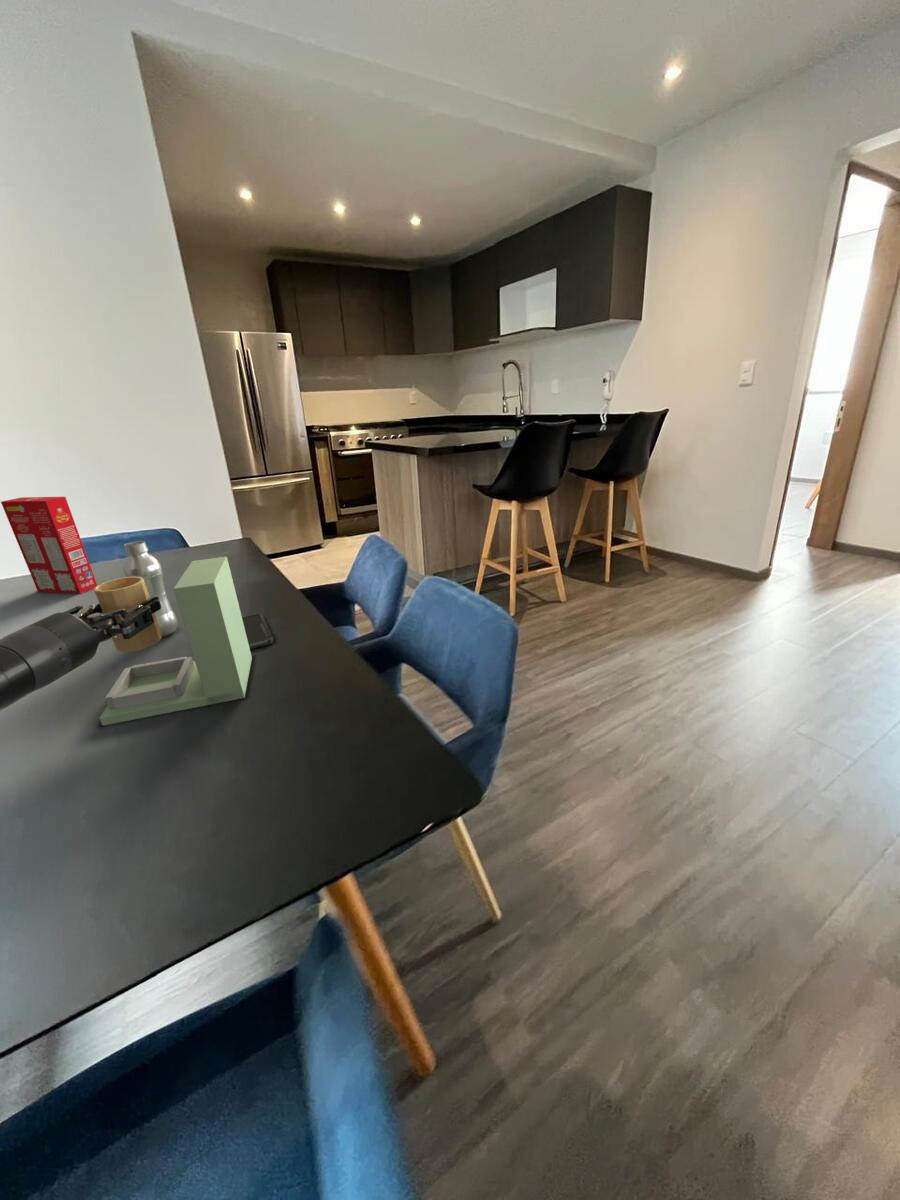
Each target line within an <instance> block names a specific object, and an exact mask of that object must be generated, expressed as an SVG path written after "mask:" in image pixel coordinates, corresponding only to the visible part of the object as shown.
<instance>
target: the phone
mask: <svg viewBox="0 0 900 1200" xmlns="http://www.w3.org/2000/svg"><path fill="white" fill-rule="evenodd" d="M242 620H243V624H244V628H245V632H246V636H247V640H248V644H249V648H250V651H252V650H254V649H258V648H262V647H266V646H269V645H272V644H273V643H274V637H273V635H272V632H271V631H270V628H269V626H268V624H267V621H266V620H265V618H264V616H263V614H262V613H254V614H250V615H246V616H242Z"/></svg>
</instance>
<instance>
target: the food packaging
mask: <svg viewBox="0 0 900 1200" xmlns="http://www.w3.org/2000/svg"><path fill="white" fill-rule="evenodd" d="M0 504H1V506H2V509H3V511H4V514H5V515H6V519H7V521H8V523H9V525H10V528H11V531H12V533H13V535H14V537H15V539H16V542H17V545H18V547H19V550H20V552H21V554H22V557H23V559H24V561H25V564H26V566H27V569H28V572H29V573H30V576H31V578H32V581H33V583H34V586H35V589H36V590H37V593H58V594H83V593H85V592H89V591H90V590H94V588H95V587H96V586H97V585H98V583H97V580H96V577H95V575H94V572H93V569H92V567H91V563H90V562H89V561H90V560H89V558H88V555H87V553H86V550H85V547H84V544H83V541H82V539H81V535H80V534H79V530H78V527H77V525H76V522H75V520H74V517H73V513H72V511H71V508H70V506H69V503H68V500H67V497H66V496H30V497H29V496H27V497H26V496H25V497H24V496H23V497H15V498H12V499H7V500H6V499H5V500H2V501H0Z"/></svg>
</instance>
